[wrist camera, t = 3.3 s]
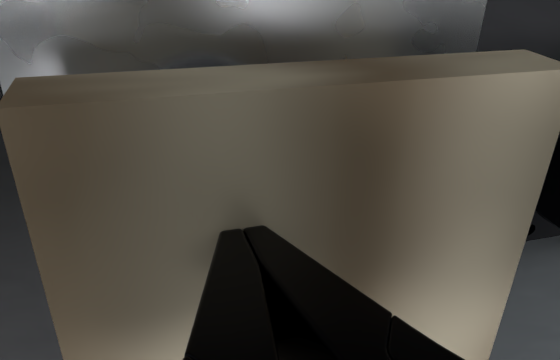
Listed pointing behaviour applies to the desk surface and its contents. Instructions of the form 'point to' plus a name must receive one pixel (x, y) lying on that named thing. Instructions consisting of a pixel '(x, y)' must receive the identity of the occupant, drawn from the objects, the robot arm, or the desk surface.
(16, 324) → the desk surface
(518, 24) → the desk surface
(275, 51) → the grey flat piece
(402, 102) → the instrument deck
